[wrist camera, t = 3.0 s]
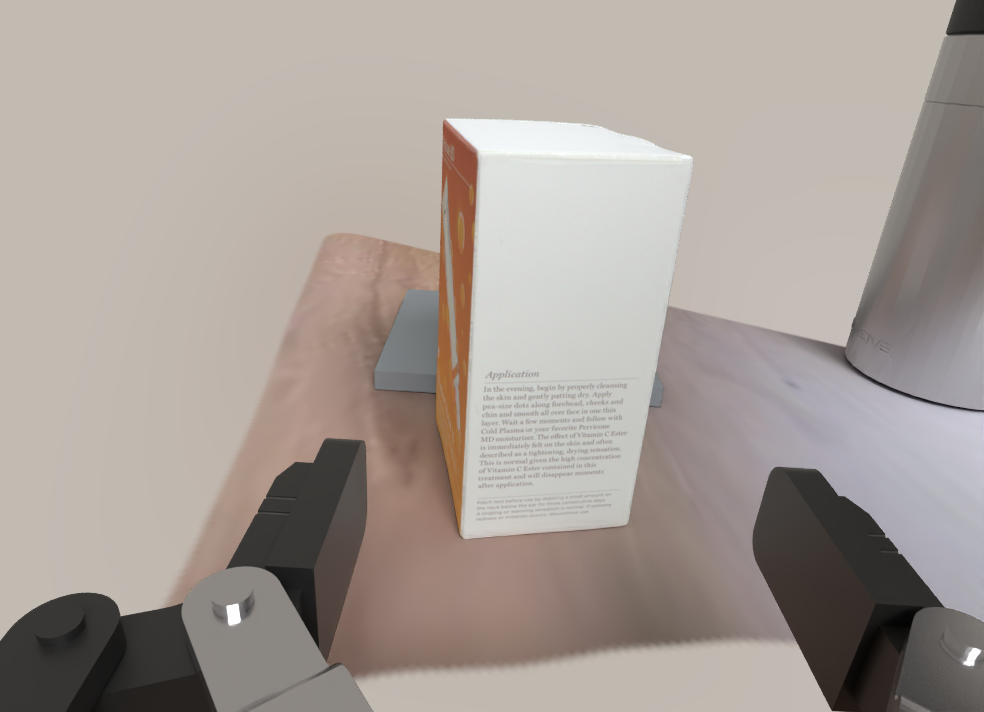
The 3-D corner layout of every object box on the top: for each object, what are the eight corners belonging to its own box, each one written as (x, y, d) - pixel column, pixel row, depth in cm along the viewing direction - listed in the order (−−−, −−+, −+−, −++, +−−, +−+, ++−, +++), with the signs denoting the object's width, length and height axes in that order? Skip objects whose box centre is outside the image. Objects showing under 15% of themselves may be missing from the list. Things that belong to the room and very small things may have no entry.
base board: (620, 317, 43) (623, 301, 42) (660, 406, 32) (664, 387, 31) (407, 303, 42) (408, 288, 42) (374, 389, 32) (374, 369, 31)
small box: (433, 421, 29) (440, 115, 24) (568, 416, 30) (605, 123, 25) (455, 544, 22) (474, 145, 17) (631, 531, 23) (704, 154, 18)
